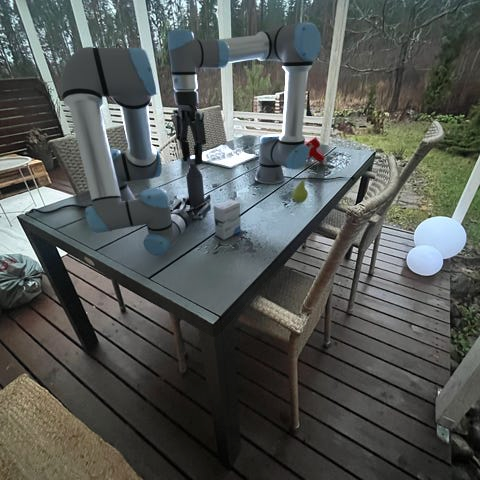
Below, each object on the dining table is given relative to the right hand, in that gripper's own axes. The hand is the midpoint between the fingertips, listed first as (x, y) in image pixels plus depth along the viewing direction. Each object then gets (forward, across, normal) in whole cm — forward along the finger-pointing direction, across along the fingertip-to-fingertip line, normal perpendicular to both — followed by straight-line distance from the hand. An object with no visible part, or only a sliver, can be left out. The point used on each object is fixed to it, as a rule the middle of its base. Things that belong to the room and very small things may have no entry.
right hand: (192, 162), depth 99 cm
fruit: (+22, +24, +39) cm, 51 cm away
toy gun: (+22, -5, +94) cm, 96 cm away
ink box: (+22, +19, -2) cm, 29 cm away
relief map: (+22, -51, +64) cm, 85 cm away
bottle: (+22, 0, 0) cm, 22 cm away
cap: (-1, 0, 0) cm, 1 cm away
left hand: (+16, -2, +4) cm, 17 cm away
